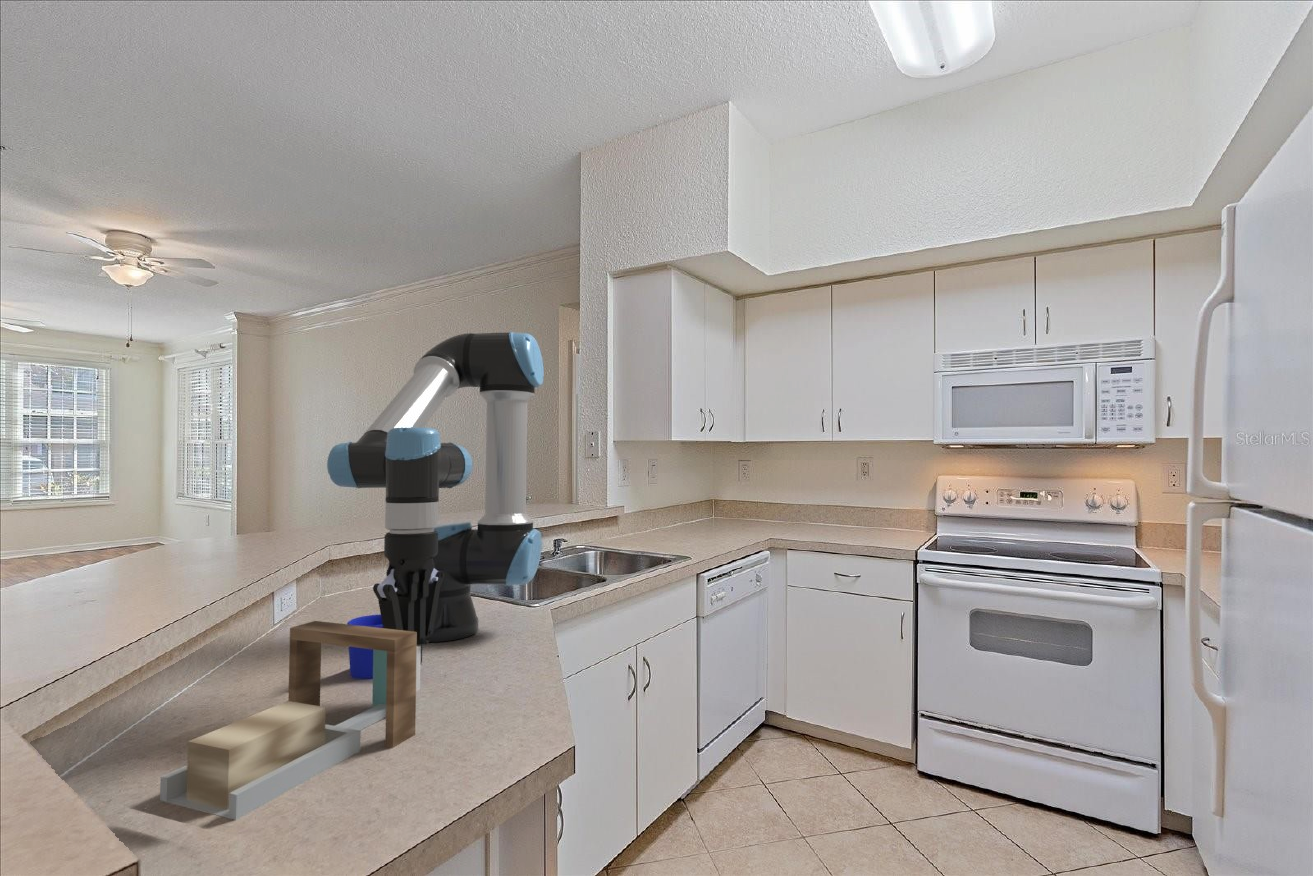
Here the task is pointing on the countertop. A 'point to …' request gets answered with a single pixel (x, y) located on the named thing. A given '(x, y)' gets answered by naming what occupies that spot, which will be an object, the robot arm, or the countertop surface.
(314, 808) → the countertop surface
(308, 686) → the tunnel
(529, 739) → the countertop surface
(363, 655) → the mug
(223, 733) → the bar
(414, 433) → the robot arm
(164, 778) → the sled
